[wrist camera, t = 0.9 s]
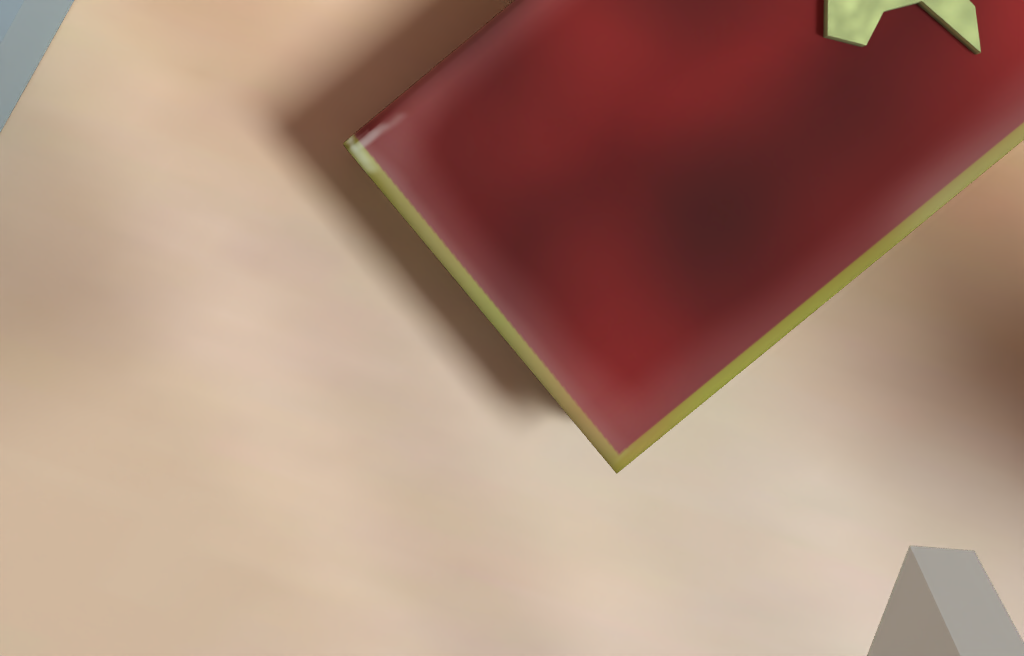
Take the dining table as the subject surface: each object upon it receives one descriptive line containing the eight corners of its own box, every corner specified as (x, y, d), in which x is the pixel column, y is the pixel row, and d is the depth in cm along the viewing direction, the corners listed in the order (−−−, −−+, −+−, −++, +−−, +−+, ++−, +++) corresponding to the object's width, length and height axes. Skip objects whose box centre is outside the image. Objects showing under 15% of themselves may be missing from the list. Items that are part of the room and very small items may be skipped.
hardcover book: (352, 149, 29) (335, 136, 25) (883, -294, 29) (958, -383, 24) (594, 441, 31) (618, 476, 26) (1103, 24, 30) (1209, -8, 26)
